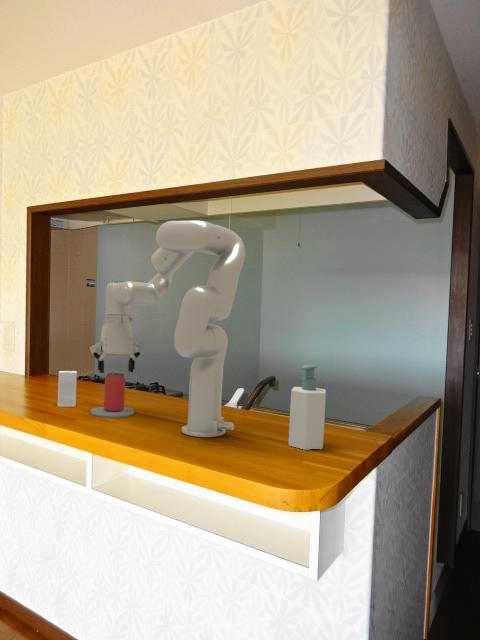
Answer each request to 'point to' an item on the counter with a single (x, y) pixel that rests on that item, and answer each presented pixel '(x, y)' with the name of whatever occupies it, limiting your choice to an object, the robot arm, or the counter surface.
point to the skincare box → (67, 388)
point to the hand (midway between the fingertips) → (116, 372)
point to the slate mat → (112, 413)
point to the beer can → (114, 392)
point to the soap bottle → (307, 413)
